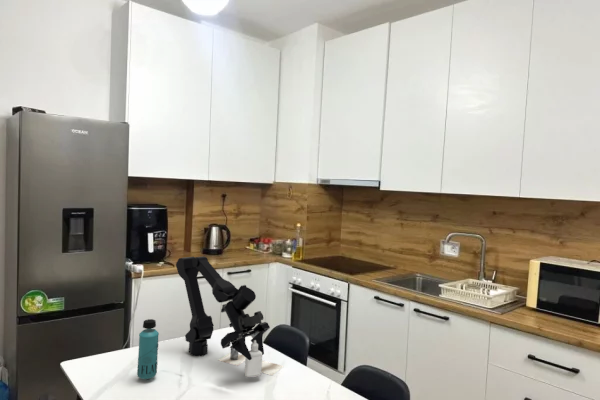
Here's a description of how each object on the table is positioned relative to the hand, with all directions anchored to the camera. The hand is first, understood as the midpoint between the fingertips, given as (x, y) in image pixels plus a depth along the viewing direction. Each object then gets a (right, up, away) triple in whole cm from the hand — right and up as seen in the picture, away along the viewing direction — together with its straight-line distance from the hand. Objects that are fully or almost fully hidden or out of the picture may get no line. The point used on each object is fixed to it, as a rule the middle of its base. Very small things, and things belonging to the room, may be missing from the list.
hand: (256, 357), depth 137 cm
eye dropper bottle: (-1, -7, +1) cm, 7 cm away
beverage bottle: (-37, -8, 0) cm, 38 cm away
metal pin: (-10, -7, +17) cm, 22 cm away
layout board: (-5, -9, +13) cm, 17 cm away
